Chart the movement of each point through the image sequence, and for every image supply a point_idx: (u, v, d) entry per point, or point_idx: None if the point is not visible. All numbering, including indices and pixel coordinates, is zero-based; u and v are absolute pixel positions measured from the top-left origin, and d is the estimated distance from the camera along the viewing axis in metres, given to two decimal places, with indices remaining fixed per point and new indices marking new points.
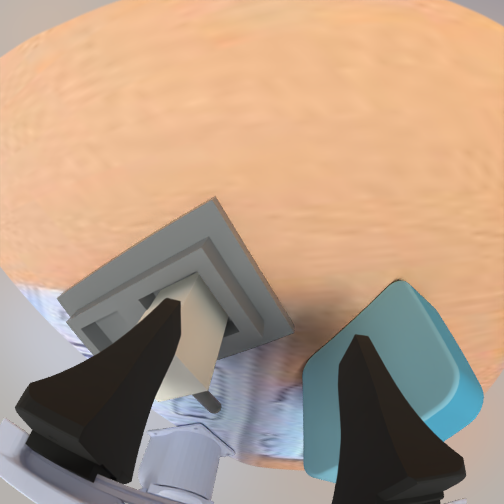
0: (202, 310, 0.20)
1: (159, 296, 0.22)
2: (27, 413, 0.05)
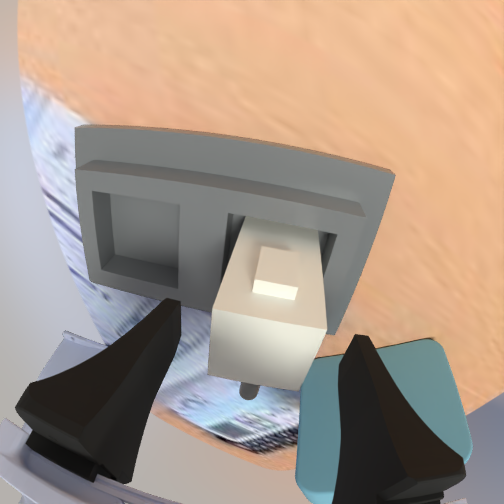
0: None
1: (252, 224, 0.16)
2: (27, 413, 0.05)
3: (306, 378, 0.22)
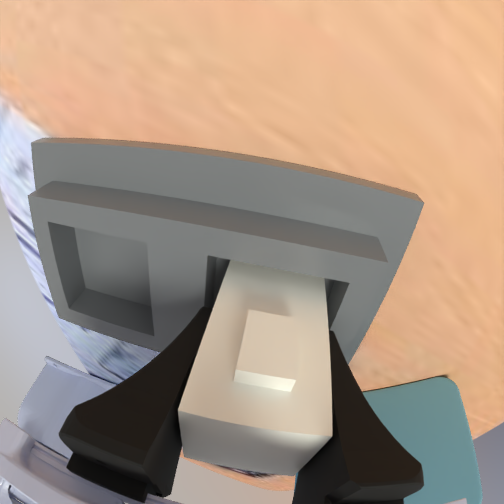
0: None
1: (240, 266, 0.12)
2: (77, 441, 0.05)
3: None
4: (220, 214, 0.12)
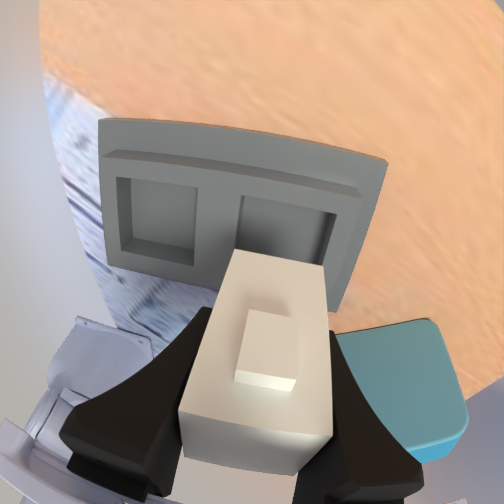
0: None
1: (240, 266, 0.12)
2: (77, 441, 0.05)
3: None
4: (249, 169, 0.17)
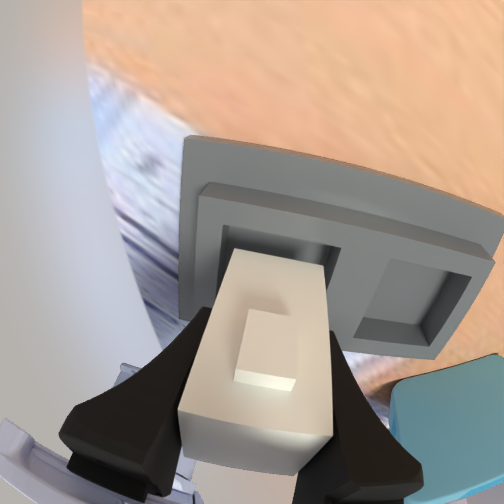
0: None
1: (240, 265, 0.12)
2: (77, 441, 0.05)
3: (397, 399, 0.21)
4: (394, 225, 0.14)
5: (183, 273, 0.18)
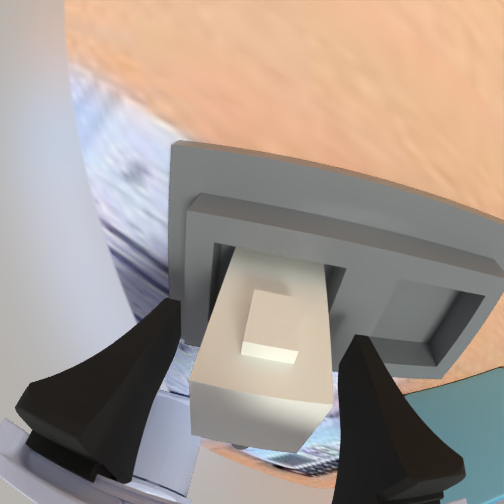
0: None
1: (244, 253, 0.13)
2: (27, 413, 0.05)
3: None
4: (404, 242, 0.12)
5: (174, 290, 0.17)
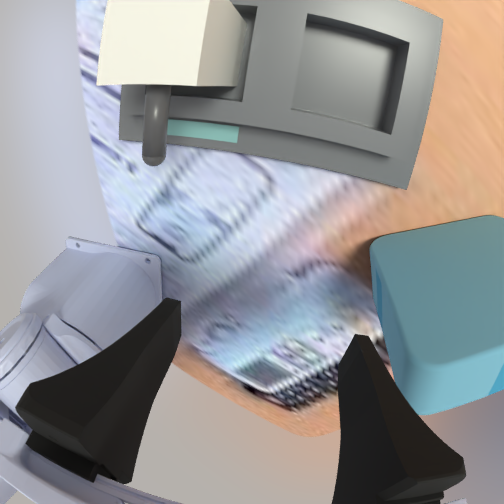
0: (233, 38, 0.12)
1: None
2: (27, 413, 0.05)
3: (378, 251, 0.19)
4: None
5: None
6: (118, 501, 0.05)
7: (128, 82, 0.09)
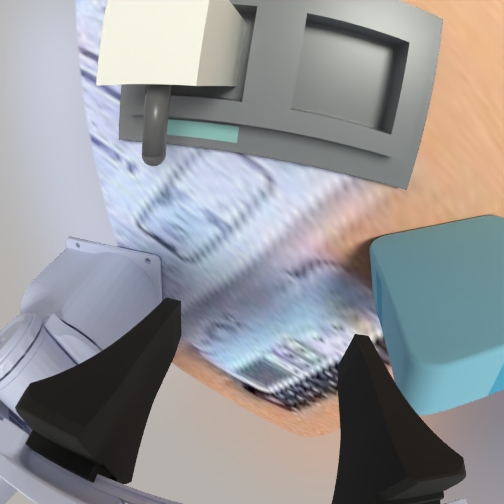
0: (233, 38, 0.12)
1: None
2: (27, 413, 0.05)
3: (377, 251, 0.19)
4: None
5: None
6: (118, 501, 0.05)
7: (128, 82, 0.09)
